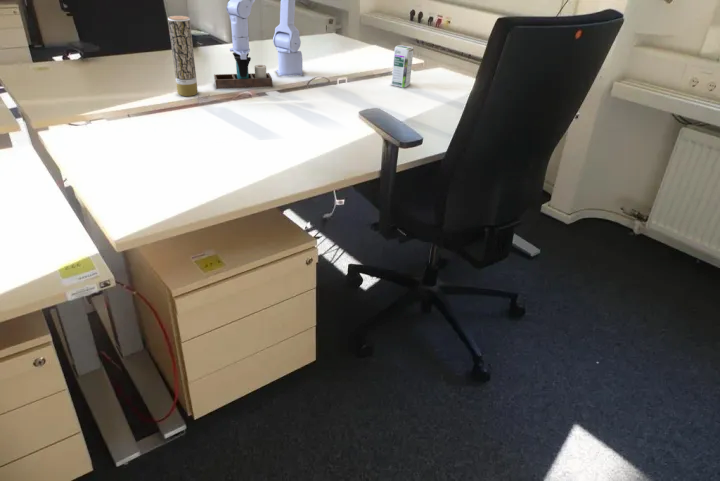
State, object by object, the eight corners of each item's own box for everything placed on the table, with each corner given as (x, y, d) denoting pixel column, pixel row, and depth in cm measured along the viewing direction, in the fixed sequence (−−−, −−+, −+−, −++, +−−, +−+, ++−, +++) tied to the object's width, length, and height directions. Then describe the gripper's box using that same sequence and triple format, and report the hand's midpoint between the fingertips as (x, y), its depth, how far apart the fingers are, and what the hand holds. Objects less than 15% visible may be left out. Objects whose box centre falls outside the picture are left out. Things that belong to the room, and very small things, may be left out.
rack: (269, 82, 204) (268, 72, 202) (272, 87, 198) (272, 78, 197) (214, 84, 199) (213, 74, 197) (216, 89, 193) (215, 80, 191)
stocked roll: (265, 82, 202) (265, 64, 199) (267, 85, 199) (266, 67, 195) (254, 82, 201) (253, 64, 198) (256, 85, 198) (255, 67, 194)
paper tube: (192, 97, 184) (183, 20, 171) (174, 95, 185) (163, 18, 172) (201, 92, 190) (193, 16, 176) (183, 90, 191) (174, 14, 177)
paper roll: (248, 77, 199) (247, 59, 196) (249, 80, 196) (248, 62, 193) (236, 77, 198) (235, 59, 195) (237, 81, 195) (236, 62, 191)
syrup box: (390, 85, 209) (394, 46, 201) (397, 82, 213) (400, 44, 206) (404, 88, 207) (408, 49, 199) (410, 84, 211) (414, 46, 204)
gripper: (226, 31, 194) (229, 69, 201) (230, 40, 182) (233, 80, 189) (246, 31, 196) (248, 69, 203) (251, 40, 184) (253, 80, 191)
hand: (242, 74), depth 196 cm, fingers closed on paper roll, 4 cm apart
